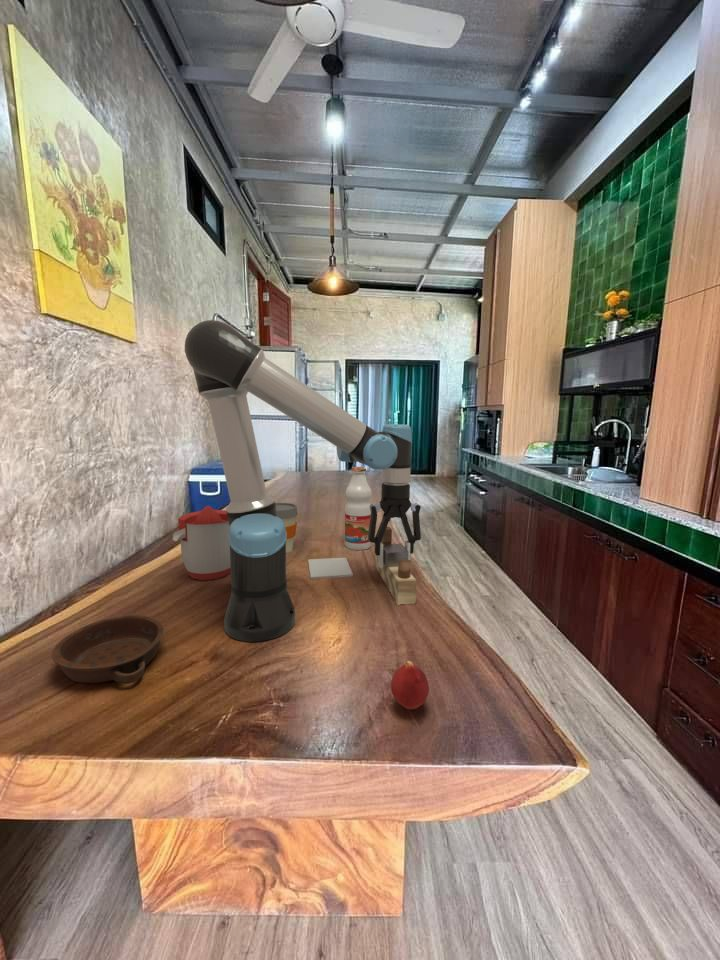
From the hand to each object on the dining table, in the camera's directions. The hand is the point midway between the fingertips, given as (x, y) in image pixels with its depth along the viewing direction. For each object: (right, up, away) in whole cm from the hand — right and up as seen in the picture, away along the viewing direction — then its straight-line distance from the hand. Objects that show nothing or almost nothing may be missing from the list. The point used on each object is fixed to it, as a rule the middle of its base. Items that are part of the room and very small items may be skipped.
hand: (393, 565), depth 110 cm
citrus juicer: (-53, -4, +6) cm, 54 cm away
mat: (-18, -3, +11) cm, 21 cm away
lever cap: (0, +1, 0) cm, 1 cm away
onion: (-1, -13, -47) cm, 48 cm away
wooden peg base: (0, -5, +1) cm, 5 cm away
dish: (-55, -11, -36) cm, 66 cm away
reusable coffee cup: (-37, 0, +27) cm, 46 cm away
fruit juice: (-10, 0, +32) cm, 33 cm away
